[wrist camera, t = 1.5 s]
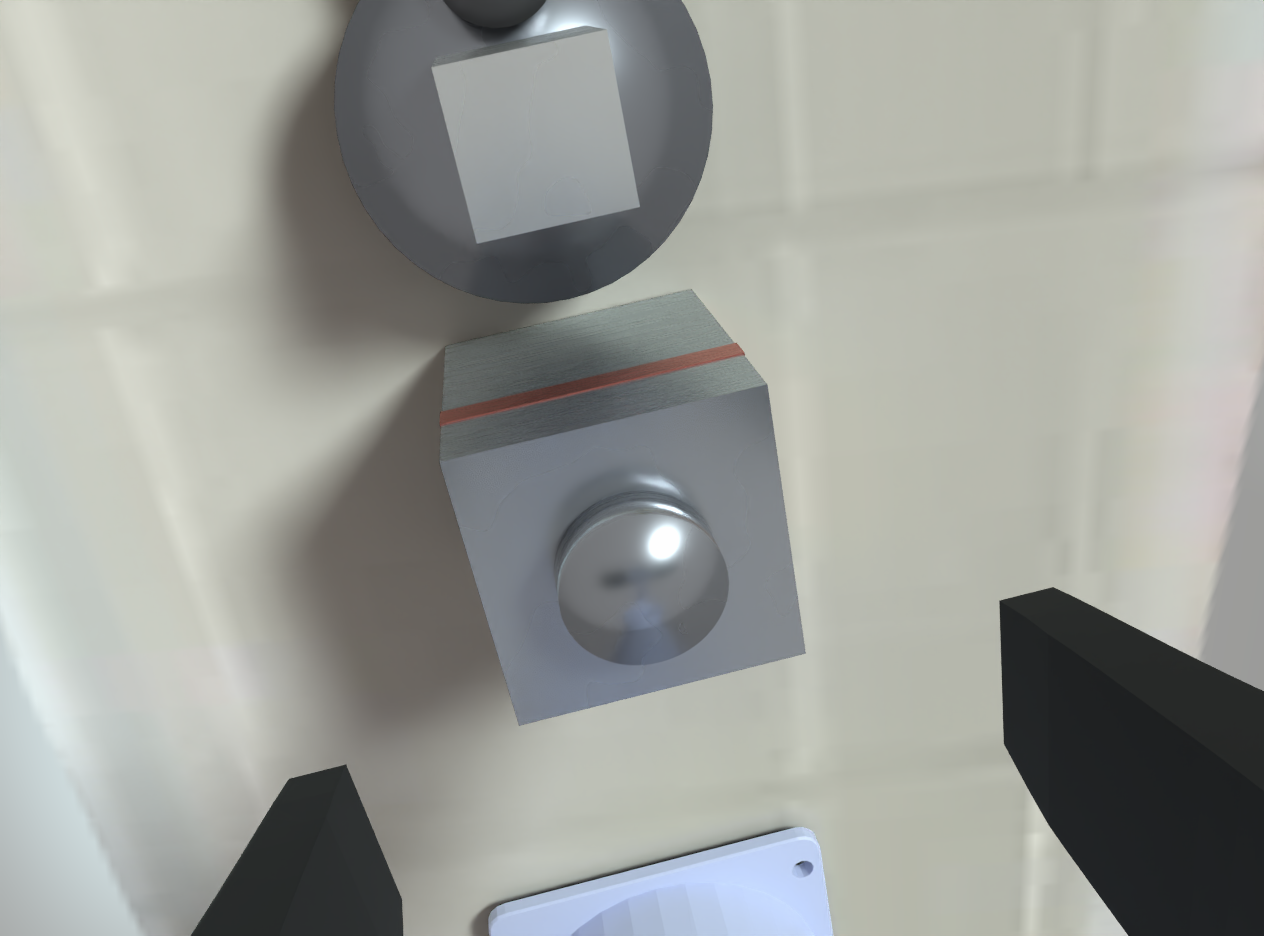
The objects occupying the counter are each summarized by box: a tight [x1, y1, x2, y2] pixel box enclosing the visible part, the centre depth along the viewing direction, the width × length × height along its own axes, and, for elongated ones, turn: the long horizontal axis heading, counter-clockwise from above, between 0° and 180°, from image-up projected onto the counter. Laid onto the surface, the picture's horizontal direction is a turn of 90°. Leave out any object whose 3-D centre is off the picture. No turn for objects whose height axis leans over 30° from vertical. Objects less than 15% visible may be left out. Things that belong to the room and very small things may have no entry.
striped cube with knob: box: [439, 289, 806, 726], centre depth 17 cm, size 5×5×6 cm
